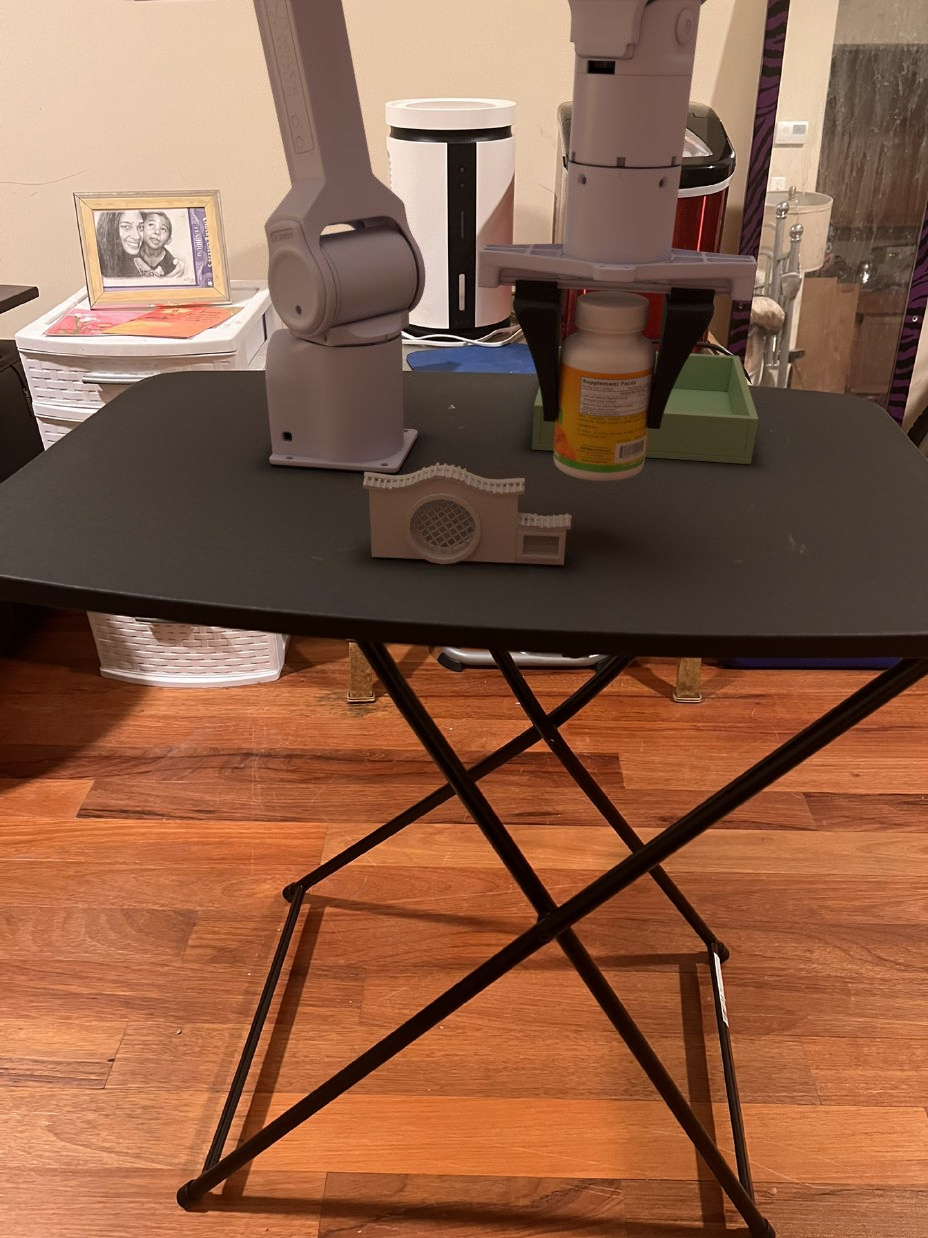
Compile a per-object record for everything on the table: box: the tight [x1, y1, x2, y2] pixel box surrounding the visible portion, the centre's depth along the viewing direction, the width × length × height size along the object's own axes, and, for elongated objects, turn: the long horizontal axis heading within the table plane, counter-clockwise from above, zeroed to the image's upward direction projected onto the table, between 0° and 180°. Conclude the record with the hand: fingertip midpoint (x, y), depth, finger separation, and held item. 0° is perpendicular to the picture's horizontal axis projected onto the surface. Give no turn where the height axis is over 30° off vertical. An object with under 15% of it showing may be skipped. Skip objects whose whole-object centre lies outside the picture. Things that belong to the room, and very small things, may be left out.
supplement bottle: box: [553, 290, 657, 482], centre depth 56 cm, size 5×5×10 cm
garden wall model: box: [362, 462, 572, 566], centre depth 57 cm, size 12×2×6 cm, turn 86°
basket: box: [531, 345, 760, 465], centre depth 79 cm, size 16×16×4 cm
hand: (600, 419), depth 56 cm, fingers closed on supplement bottle, 5 cm apart
